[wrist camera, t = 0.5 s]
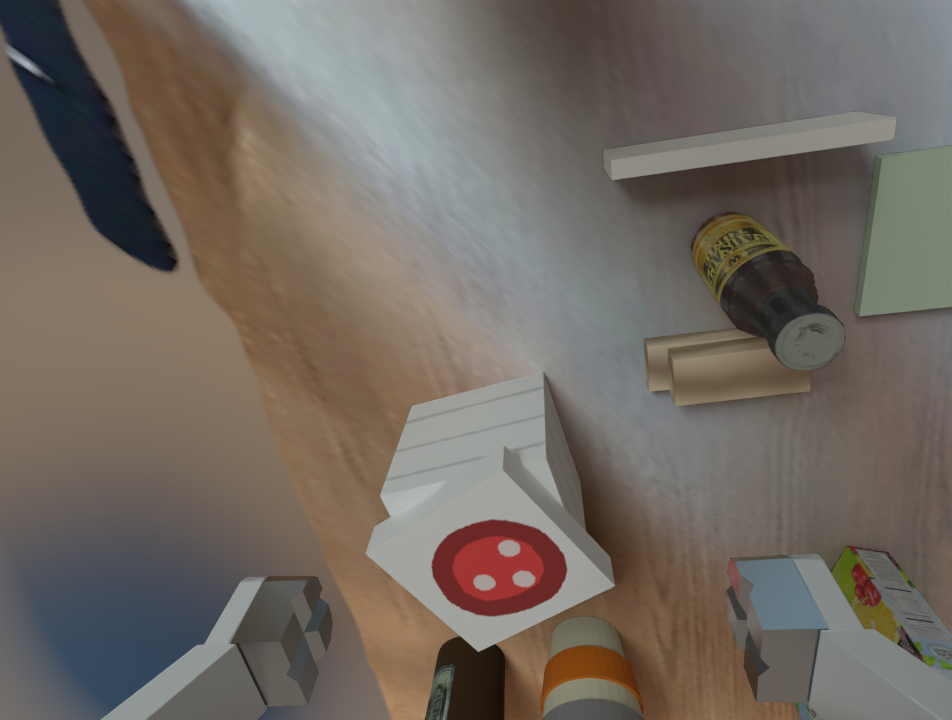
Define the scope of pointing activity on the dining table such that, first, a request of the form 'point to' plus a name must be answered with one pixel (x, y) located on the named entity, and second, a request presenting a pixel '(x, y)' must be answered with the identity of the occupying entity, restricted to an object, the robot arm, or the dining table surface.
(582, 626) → the reusable coffee cup
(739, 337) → the offcut lower
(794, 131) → the rail
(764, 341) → the offcut upper
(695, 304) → the dining table surface
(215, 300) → the dining table surface
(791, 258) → the sauce bottle
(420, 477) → the pizza box stack
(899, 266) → the green mat
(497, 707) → the olive oil
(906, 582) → the snack box
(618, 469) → the dining table surface
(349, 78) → the dining table surface
